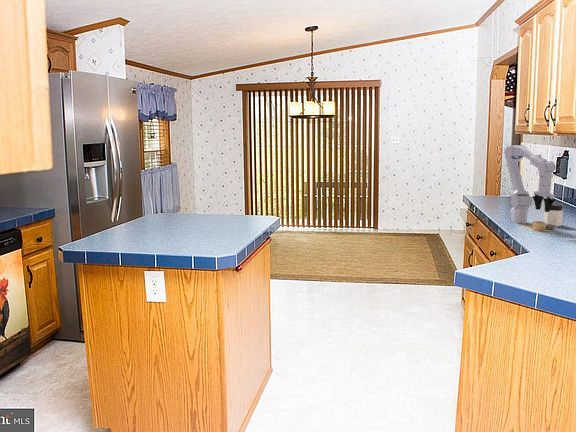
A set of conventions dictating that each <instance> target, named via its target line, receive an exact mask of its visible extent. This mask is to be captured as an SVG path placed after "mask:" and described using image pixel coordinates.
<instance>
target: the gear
mask: <svg viewBox="0 0 576 432" xmlns="http://www.w3.org/2000/svg"><path fill="white" fill-rule="evenodd" d="M545 230H556V226H555V225H553V224H551V223H549V224H547V225H546V226H545Z"/></svg>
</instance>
